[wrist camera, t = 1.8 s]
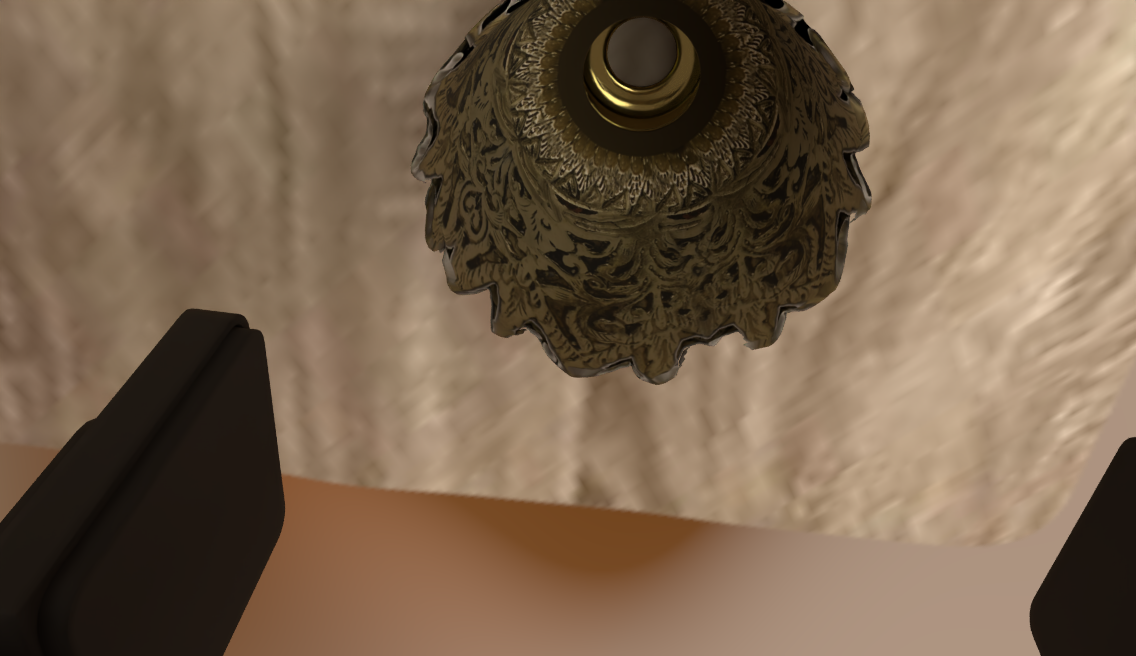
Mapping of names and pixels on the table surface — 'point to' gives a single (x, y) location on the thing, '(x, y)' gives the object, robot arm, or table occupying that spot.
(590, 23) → the cup
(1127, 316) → the table surface
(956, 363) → the table surface
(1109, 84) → the table surface
